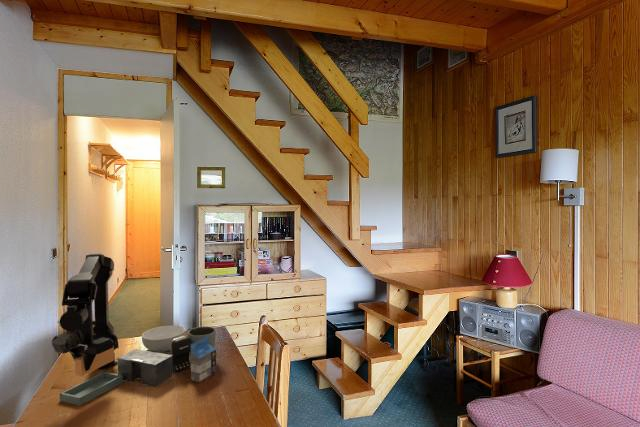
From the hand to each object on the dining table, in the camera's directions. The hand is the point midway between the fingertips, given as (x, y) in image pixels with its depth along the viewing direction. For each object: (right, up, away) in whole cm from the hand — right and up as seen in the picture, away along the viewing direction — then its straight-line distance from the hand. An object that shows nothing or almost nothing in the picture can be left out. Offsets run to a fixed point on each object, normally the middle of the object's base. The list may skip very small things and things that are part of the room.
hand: (83, 369), depth 125 cm
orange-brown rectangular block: (+1, -1, +4) cm, 4 cm away
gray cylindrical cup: (+28, -8, +29) cm, 41 cm away
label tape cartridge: (+32, -9, +16) cm, 37 cm away
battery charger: (+22, -9, +22) cm, 33 cm away
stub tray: (-1, -9, +6) cm, 11 cm away
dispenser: (+12, -9, +15) cm, 21 cm away
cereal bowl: (+9, -8, +42) cm, 44 cm away
